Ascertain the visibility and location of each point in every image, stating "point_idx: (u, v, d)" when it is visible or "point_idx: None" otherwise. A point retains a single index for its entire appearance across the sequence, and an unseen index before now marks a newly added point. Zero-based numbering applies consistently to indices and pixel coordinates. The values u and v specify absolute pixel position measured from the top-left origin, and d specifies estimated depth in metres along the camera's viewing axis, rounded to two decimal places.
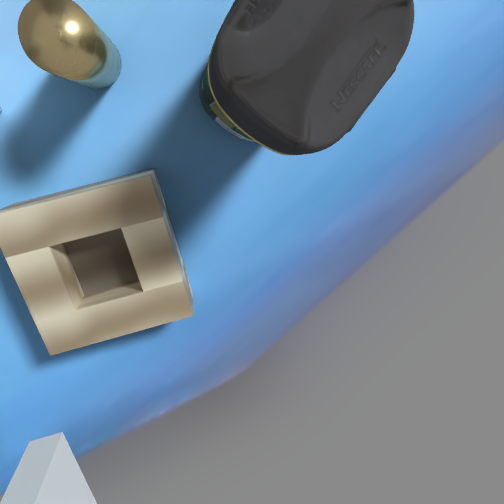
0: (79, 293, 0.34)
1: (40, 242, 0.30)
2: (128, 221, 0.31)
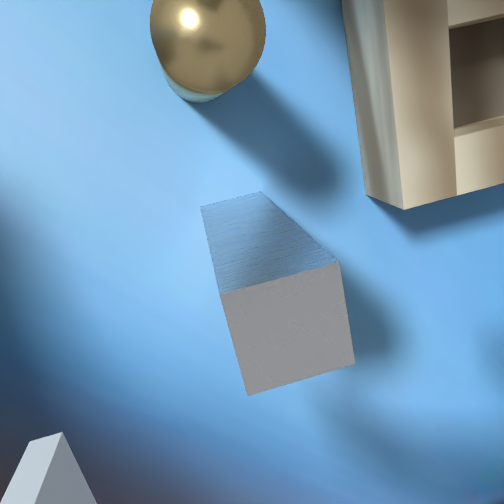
0: None
1: (447, 147, 0.22)
2: (441, 12, 0.20)
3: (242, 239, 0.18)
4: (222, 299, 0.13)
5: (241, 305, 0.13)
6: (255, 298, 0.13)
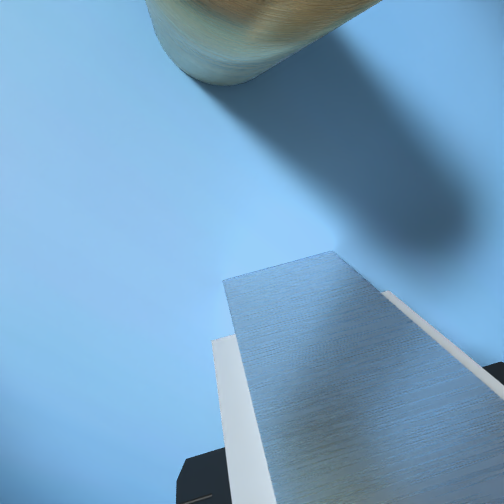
0: None
1: None
2: None
3: (382, 488, 0.06)
4: None
5: None
6: None
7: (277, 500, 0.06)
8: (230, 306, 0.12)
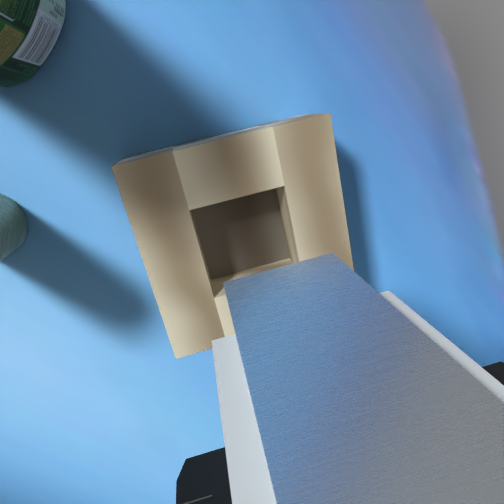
0: (284, 264, 0.27)
1: (208, 306, 0.24)
2: (179, 199, 0.22)
3: (383, 493, 0.06)
4: None
5: None
6: None
7: None
8: (231, 308, 0.12)
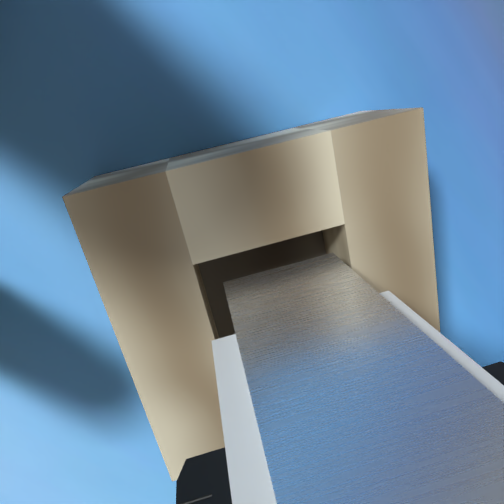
0: None
1: None
2: (177, 249, 0.14)
3: (383, 493, 0.06)
4: None
5: None
6: None
7: None
8: (231, 308, 0.12)
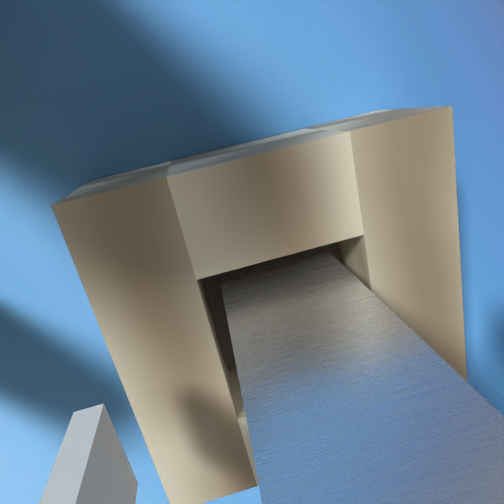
0: None
1: (228, 432, 0.15)
2: (179, 262, 0.12)
3: (328, 411, 0.07)
4: None
5: None
6: None
7: (247, 421, 0.08)
8: (222, 286, 0.14)
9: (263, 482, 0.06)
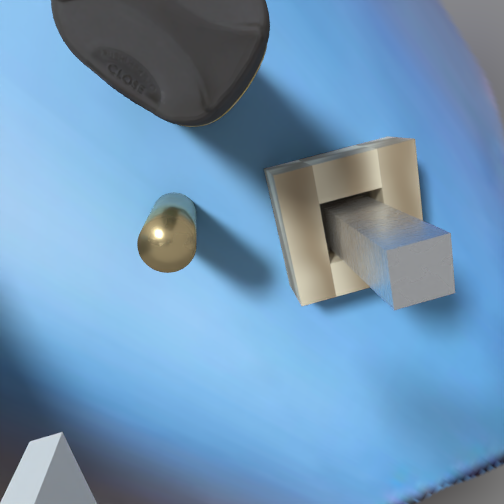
0: None
1: (326, 269, 0.36)
2: (313, 197, 0.34)
3: (375, 223, 0.29)
4: (387, 253, 0.24)
5: (396, 256, 0.24)
6: (404, 253, 0.24)
7: (353, 227, 0.29)
8: (326, 208, 0.35)
9: (361, 232, 0.28)
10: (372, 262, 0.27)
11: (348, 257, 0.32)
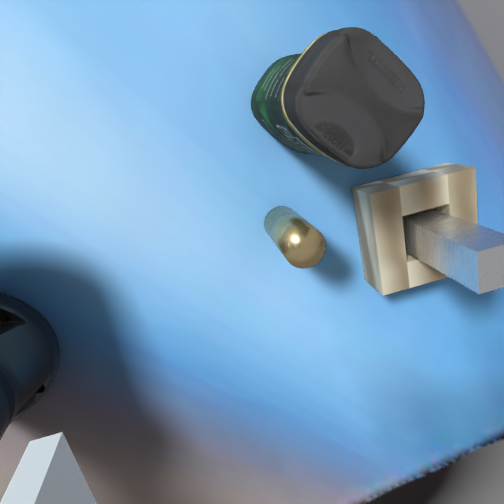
0: None
1: (403, 266, 0.46)
2: (398, 210, 0.44)
3: (456, 232, 0.39)
4: (477, 253, 0.34)
5: (483, 256, 0.34)
6: (489, 253, 0.34)
7: (439, 235, 0.39)
8: (405, 219, 0.45)
9: (449, 238, 0.38)
10: (459, 260, 0.37)
11: (428, 257, 0.42)
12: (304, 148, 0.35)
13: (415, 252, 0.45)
